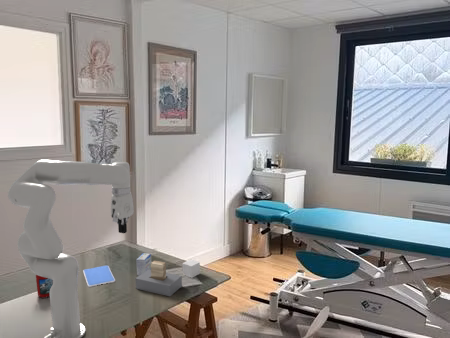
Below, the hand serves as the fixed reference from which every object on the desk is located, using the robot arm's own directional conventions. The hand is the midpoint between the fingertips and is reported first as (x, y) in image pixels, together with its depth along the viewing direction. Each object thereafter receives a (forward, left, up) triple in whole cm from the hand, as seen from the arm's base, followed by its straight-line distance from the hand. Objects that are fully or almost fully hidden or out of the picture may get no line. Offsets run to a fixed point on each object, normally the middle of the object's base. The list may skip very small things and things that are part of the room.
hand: (122, 232), depth 179 cm
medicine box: (+20, +4, -29) cm, 36 cm away
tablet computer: (+8, +22, -29) cm, 38 cm away
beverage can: (-16, +31, -29) cm, 45 cm away
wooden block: (+10, -11, -29) cm, 32 cm away
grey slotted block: (+10, -11, -29) cm, 32 cm away
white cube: (+28, -18, -29) cm, 44 cm away
